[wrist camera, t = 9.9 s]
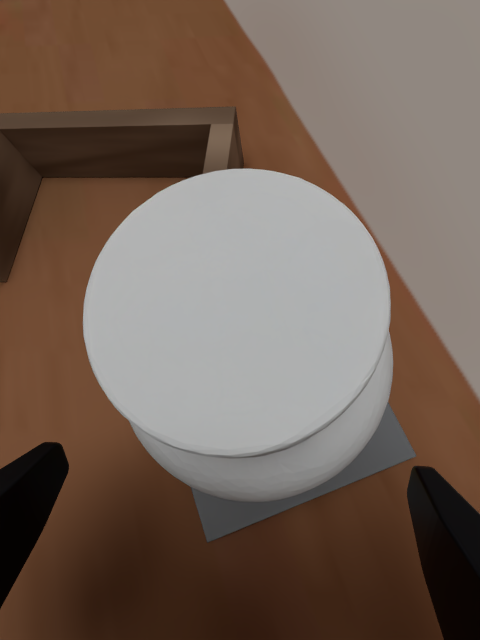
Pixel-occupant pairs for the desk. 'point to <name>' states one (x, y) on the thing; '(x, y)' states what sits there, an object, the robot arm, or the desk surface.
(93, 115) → the frame
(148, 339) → the supplement bottle
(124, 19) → the desk surface
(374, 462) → the charcoal mat
